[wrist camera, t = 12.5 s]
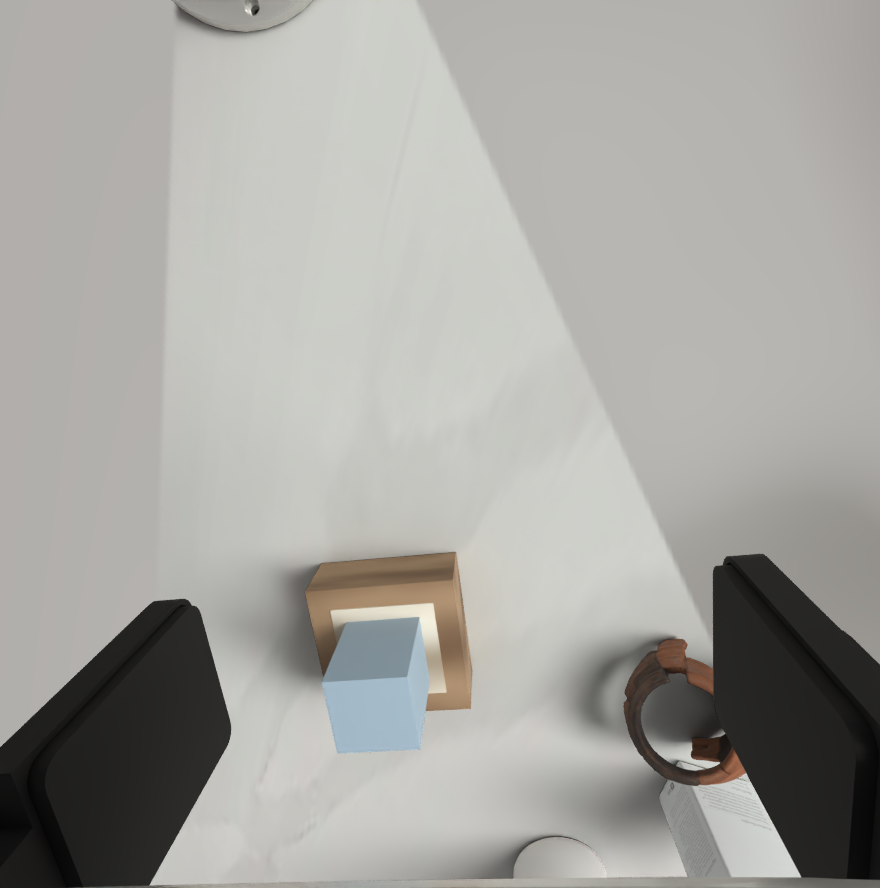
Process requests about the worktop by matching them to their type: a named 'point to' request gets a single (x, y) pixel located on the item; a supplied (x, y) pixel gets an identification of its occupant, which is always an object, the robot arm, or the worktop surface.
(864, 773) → the robot arm
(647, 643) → the worktop surface
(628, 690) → the brown segmented ring
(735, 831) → the skincare box
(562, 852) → the milk bottle
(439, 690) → the walnut plinth
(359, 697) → the slate block
